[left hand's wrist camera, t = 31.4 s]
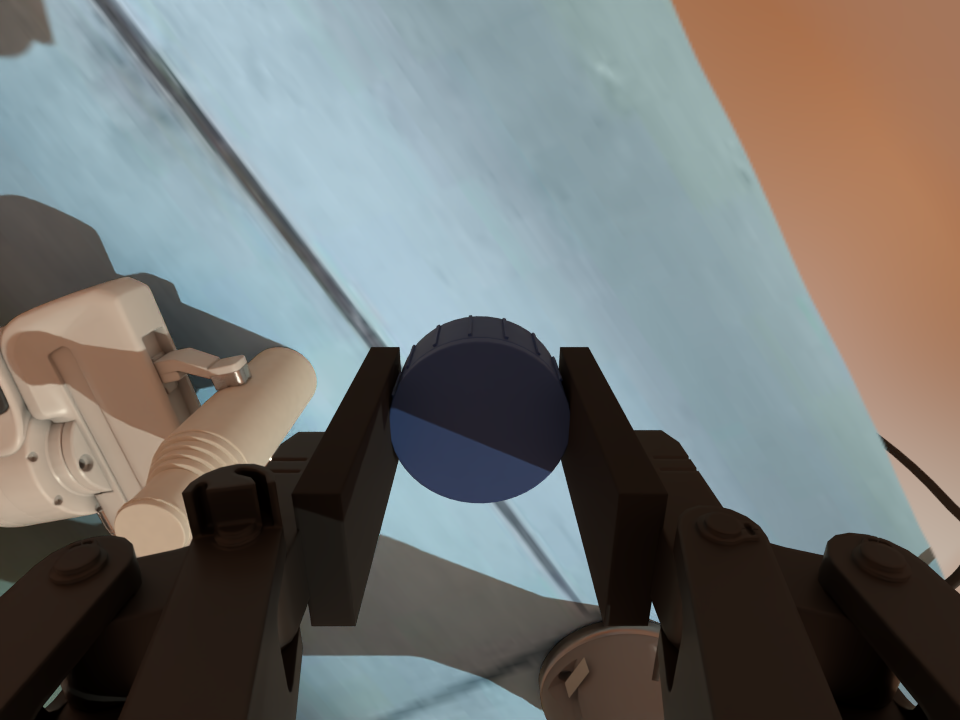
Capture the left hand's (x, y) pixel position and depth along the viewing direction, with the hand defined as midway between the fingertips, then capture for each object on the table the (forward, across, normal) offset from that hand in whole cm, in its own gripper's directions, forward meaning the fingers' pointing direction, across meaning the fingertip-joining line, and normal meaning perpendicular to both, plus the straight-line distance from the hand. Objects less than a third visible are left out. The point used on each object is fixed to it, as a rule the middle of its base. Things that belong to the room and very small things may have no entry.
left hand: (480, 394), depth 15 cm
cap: (-2, 0, 0) cm, 2 cm away
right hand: (+18, +14, +10) cm, 25 cm away
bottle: (+24, +15, +10) cm, 30 cm away
